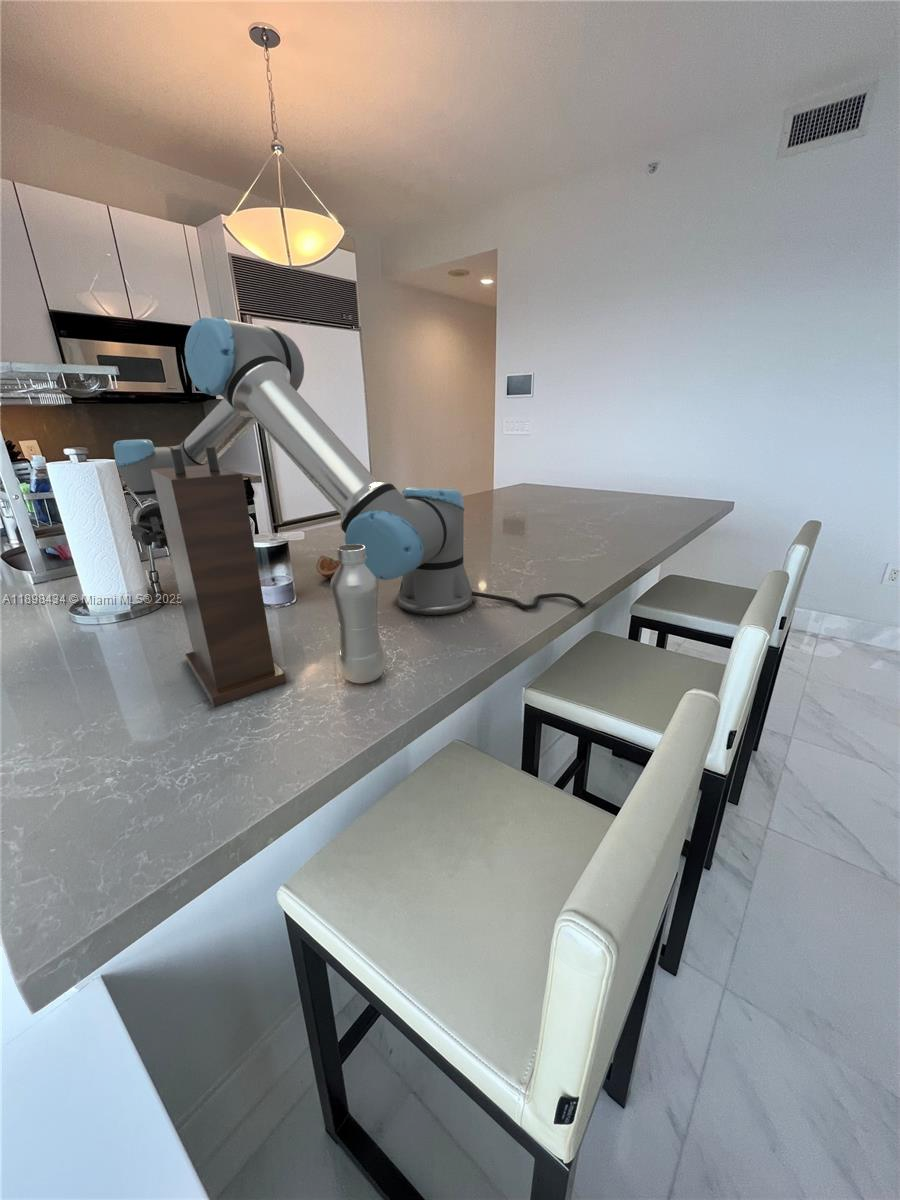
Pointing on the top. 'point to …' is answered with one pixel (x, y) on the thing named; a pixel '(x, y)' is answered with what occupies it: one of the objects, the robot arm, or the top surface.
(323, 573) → the fruit slice
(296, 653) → the top surface
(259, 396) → the robot arm
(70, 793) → the top surface
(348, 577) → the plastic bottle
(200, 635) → the hook stand
